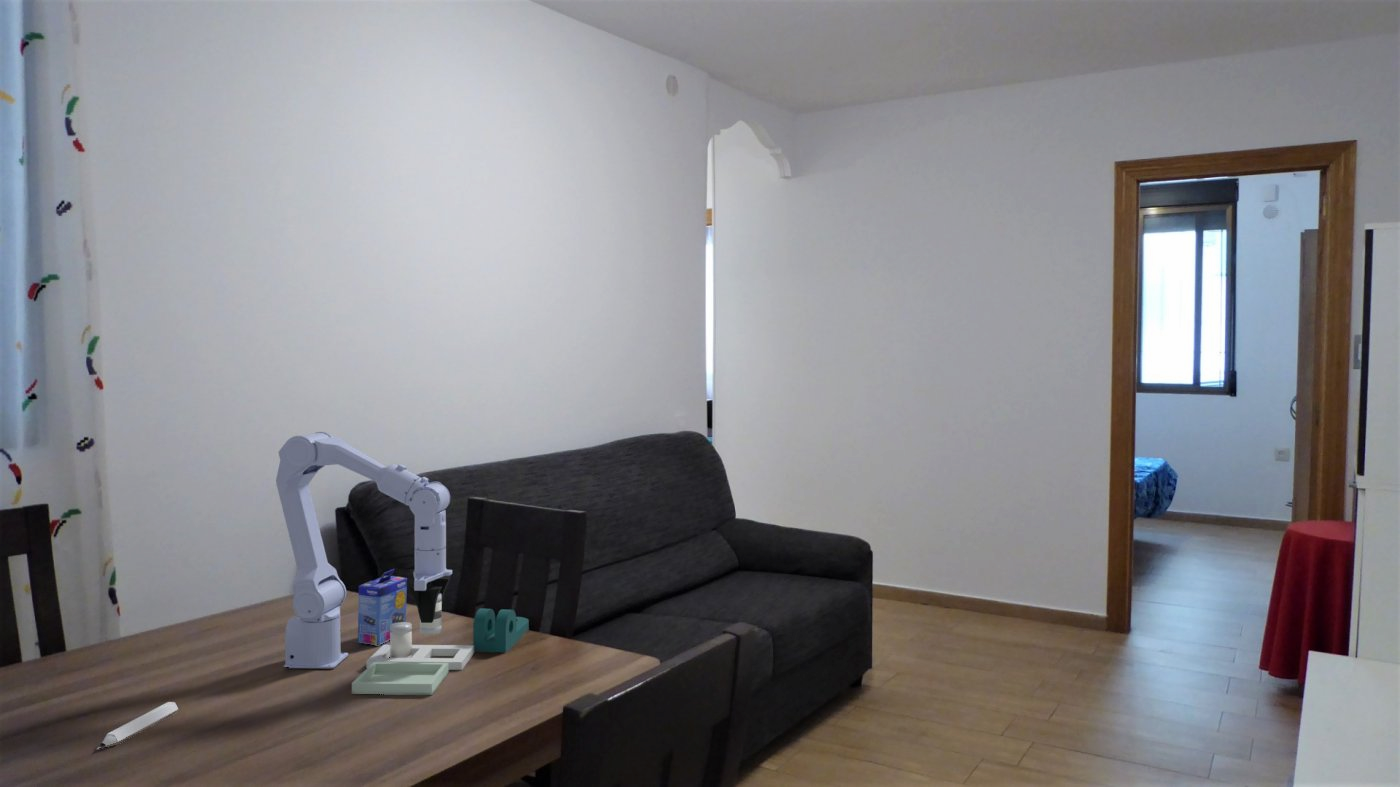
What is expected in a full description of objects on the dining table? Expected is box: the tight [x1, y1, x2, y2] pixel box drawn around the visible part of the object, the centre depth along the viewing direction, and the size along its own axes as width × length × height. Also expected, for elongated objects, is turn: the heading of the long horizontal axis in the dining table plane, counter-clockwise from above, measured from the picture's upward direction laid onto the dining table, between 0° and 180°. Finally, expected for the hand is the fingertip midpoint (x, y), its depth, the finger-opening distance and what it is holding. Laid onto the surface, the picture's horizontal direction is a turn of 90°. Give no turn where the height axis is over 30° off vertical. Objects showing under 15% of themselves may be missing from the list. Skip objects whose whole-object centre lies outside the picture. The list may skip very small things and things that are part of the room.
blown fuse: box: [419, 593, 443, 636], centre depth 179 cm, size 4×4×7 cm
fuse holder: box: [365, 644, 475, 671], centre depth 183 cm, size 18×10×2 cm, turn 90°
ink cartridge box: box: [357, 568, 408, 647], centre depth 196 cm, size 10×6×14 cm, turn 163°
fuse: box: [389, 621, 413, 658], centre depth 183 cm, size 4×4×7 cm
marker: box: [96, 701, 179, 750], centre depth 149 cm, size 3×2×16 cm
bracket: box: [472, 607, 530, 653], centre depth 198 cm, size 18×7×8 cm, turn 173°
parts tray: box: [351, 662, 449, 696], centre depth 171 cm, size 14×11×2 cm
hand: (430, 618), depth 179 cm, fingers closed on blown fuse, 4 cm apart
